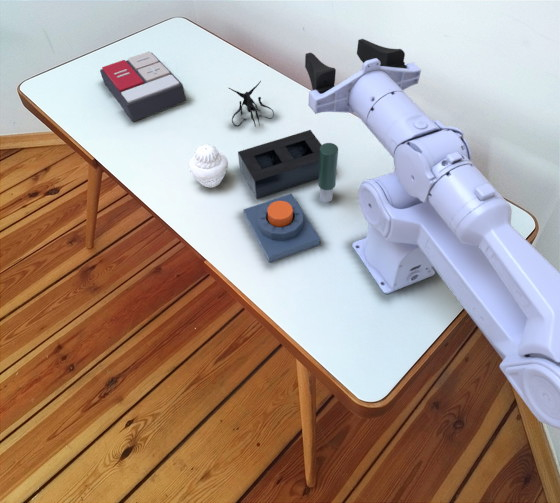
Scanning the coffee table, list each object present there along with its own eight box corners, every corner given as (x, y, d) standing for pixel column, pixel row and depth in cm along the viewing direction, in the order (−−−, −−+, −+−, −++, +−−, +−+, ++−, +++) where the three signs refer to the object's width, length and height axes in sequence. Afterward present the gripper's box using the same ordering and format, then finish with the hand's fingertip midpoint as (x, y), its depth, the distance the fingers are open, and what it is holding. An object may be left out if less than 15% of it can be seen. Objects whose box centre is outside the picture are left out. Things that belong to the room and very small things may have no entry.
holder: (329, 175, 84) (330, 156, 80) (256, 199, 81) (254, 181, 78) (310, 148, 88) (310, 129, 85) (239, 170, 85) (237, 151, 82)
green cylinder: (337, 201, 80) (341, 151, 72) (322, 206, 79) (324, 156, 72) (329, 190, 82) (333, 140, 74) (314, 195, 81) (316, 145, 73)
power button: (296, 222, 74) (296, 214, 73) (273, 230, 73) (273, 222, 72) (286, 205, 76) (286, 197, 75) (264, 213, 75) (263, 205, 74)
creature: (278, 127, 93) (265, 95, 96) (279, 107, 88) (265, 73, 92) (236, 137, 92) (224, 104, 95) (235, 117, 87) (222, 83, 90)
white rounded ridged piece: (185, 178, 84) (177, 144, 79) (218, 162, 86) (212, 129, 81) (204, 200, 81) (197, 167, 75) (237, 183, 83) (233, 150, 78)
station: (319, 244, 75) (320, 231, 72) (269, 263, 73) (268, 250, 71) (291, 199, 81) (291, 185, 78) (243, 215, 79) (242, 201, 76)
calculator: (150, 48, 102) (182, 80, 94) (155, 68, 105) (187, 101, 97) (97, 65, 99) (125, 101, 90) (104, 86, 102) (132, 122, 93)
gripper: (448, 66, 59) (386, 11, 66) (335, 99, 55) (283, 37, 63) (434, 117, 64) (378, 60, 72) (330, 150, 61) (283, 86, 68)
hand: (334, 52), depth 68 cm, fingers open, 7 cm apart
